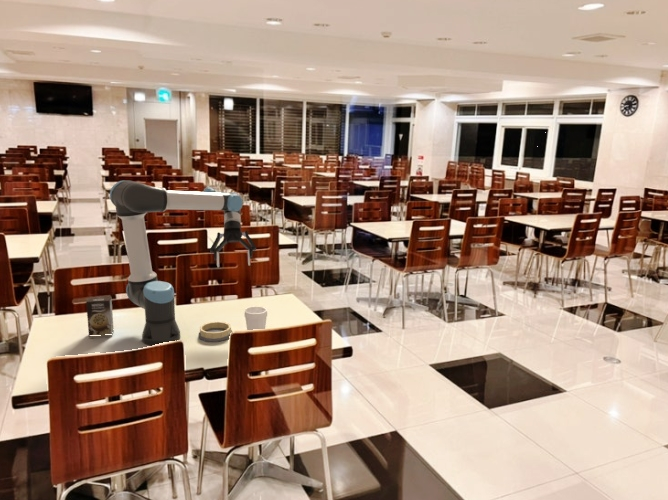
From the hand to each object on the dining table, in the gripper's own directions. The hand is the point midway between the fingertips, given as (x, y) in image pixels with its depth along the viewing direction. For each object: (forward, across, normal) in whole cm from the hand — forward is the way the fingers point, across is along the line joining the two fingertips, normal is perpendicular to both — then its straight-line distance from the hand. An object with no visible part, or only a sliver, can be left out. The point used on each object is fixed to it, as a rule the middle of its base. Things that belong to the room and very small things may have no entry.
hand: (233, 265), depth 229 cm
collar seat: (+29, +9, -6) cm, 31 cm away
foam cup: (+34, -8, -3) cm, 35 cm away
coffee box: (+25, +56, -8) cm, 62 cm away
